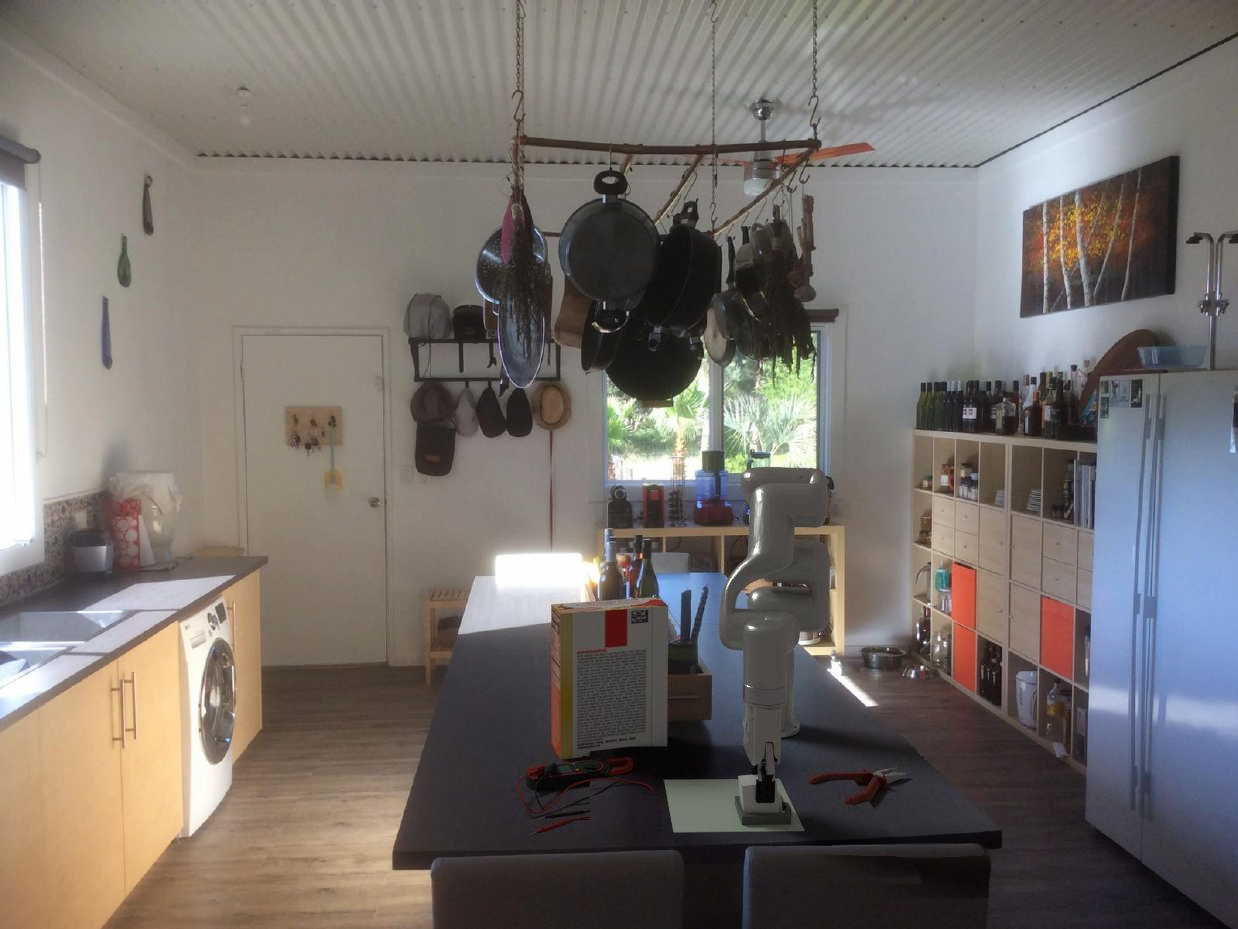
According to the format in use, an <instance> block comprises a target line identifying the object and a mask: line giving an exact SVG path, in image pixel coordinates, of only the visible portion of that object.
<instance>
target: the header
mask: <svg viewBox="0 0 1238 929" xmlns="http://www.w3.org/2000/svg"><path fill="white" fill-rule="evenodd" d="M781 801H782V811H784V813H744V811H743V808H742V805H741V803H740V796H735V807H736V809H737V812H738V815H739V818H740V821H741V824H742V825H791V807H790V805H789V803H788V802H785V801H784V799H783V797H782V796H781Z"/></svg>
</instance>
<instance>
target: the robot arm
mask: <svg viewBox="0 0 1238 929" xmlns="http://www.w3.org/2000/svg"><path fill="white" fill-rule="evenodd" d="M740 486H741V487H740V488H741V491H742V494H743V497H744V500H745V501H746V503H747V505H748V507H749V523H748V525H749V526H748V541H747V542H748V543H747V556H746V558H744V559H743V561H741V562H740V563H739V564H738V565H737V566H736V567H735V569H734V570H733V571H732V572H731V573H730V575H729V576H728V578H727V579H726V581H725V583H724V585H723V588H722V592H721V597H720V608H719V622H718V636H719V640H720V642H721V645H723V647H725V649H727V650H730V651H737V652H738V651H739V652H742V685H741V686H742V693H741V694H742V696H741V697H742V698H741V699H742V701H741V702H742V703H744V705H745V708H744V718H743V719H742V724H741V725H742V728H743V740H742V741H743V742H742V743H743V749H744V751H745V753H746V756H747V757H748V760H749V762H750V764H751V767H750V775H757V774H758V779H756V802H757V803H774V802H775V779H776V770H775V769H776V768H775V767H776V766H778V765H779V764H780V763H781V755H782V753H781V752H782V738H788V737H791V736H794V735H797V734H798V733H800V730H801V724H800V721H799V720H798V719H796V718H795V717H794V703H795V702H794V700H795V698H794V697H795V696H794V694H795V650H794V648H795V647H796V646H798V643H799V642H800V638H801V636H800V635H801V633H821V632H824V630H825V629H826V628H827V626H828V624H829V618H830V589H831V588H830V585H831V584H830V583H831V581H830V580H831V579H830V578H831V576H830V575H831V564H830V563H831V561H830V560H831V559H830V554H829V550H828V547H827V545H826V544H825V543H824V542H822V541H819V540H812V539H798V538H797V539H796V537H795V536H796V535H795V532H796V531H795V528H815V529H816V528H820V527H822V526H823V525H824V524H825V521H826V518H827V515H828V509H829V508H828V505H829V496H828V494H829V493H828V491H829V490H828V488H829V487H828V480H827V476H826V474H825V472H823V470H821V469H819V468H813V467H787V466H786V467H785V466H757V467H749V468H746V470H744V471H743V472H742V474H741V477H740ZM759 580H761V581H763V582H766V583H773V584H774V583H775V584H788V585H789V584H790V585H791V584H792V585H793V584H794V585H805V586H806V587H795V586H794V587H792V586H782V585H781V586H776V585H765V586H759V587H755V588H754V589H753V590H752V591H750V593H749V595H748V596H747V600H746V601H747V602H746V604H747V605H746V606H747V607H746V608H736V604H737V599H738V596H739V595H740V593H741V591H743V590H744V589H745V588H746V587H748V586H749V585H751V584H753V583H754V582H757V581H759ZM775 765H776V766H775Z"/></svg>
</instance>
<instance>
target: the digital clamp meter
mask: <svg viewBox="0 0 1238 929" xmlns="http://www.w3.org/2000/svg"><path fill="white" fill-rule="evenodd" d="M618 765H622V766H619V767H613V766H618ZM611 766H612V767H613V768H611ZM633 768H634V760H633V758H632V757H628V756H625V757H617V758H616V757H615V758H607V759H605V758H604V757H603V758H597V759H595V760H594V759H588V760H580V761H579V760H578V761H571V762H563V763H556V762H552V763H551V764H547V765H546V764H545V765H544V764H538V766H529V767H528V768H527V769H526V771H525V775H524V776H523V777H520V778H519V779H518V782H517V791H518V794H519V796H520V798H521V800H522V803H523V804H524V806H525V808H526V809H527V811H528V812H530V813H531V814H535V815H538V814H543V813H544V812H547V811H548V810H549V809H551V808H552V807H553V806H554V805H555V804H556V803H557V802H559V800H561V798H562V797H563V796H564V794H565V793H566V792H567V791H568V790H569V789H570V788H572V787H574V786H579V784H580V785H586V784H590V783H591V782H592V781H606V780H607V781H608V780H609V781H610V780H611V781H612V780H613V781H615V780H616V781H615V782H612V783H611V784H609V785H608V786H606V787H604V788H603V789H601V790H599V791H597V792H596V793H594V794H591V795H589V796H586V797H584V798H582V799H580V800H578V801H576V802H573V803H572V804H570V805H568V806H567V807H573V806H575V805H576V804H577V805H578V803H580V802H583V801H585V800H587V799H590V797H594V796H597V795H599V794H601V793H602V792H604V791H605V790H607V789H609V788H610V787H612V786H613V785H615V784H617V783H618V782H627V783H630V784H632V783H633V784H638V785H642V786H645V787H648V788H649V789H650V790H652V791H653V792H654V789H653V787H651V786H650V785H649V784H647V783H644V782H640V781H633V780H634V779H633V778H632V780H630V779H629V778H625V779H623V778H618V777H611V776H617V775H622V774H626V773H629V772H630V771H631V770H632V769H633ZM609 776H610V777H609ZM523 779H525V785H526V787H527V788H528V789H529V790H532V791H534V790H535V791H534V796H535V799H536V801H537V803H538V806H539V807H540V808H541V809H542V810H540V811H533V810H531V808H530V807H529V806H528V805H527V802H526V800H525V799H524V797H523V795H522V792H521V789H520V783H521V781H522V780H523ZM556 787H557V788H563V787H567V788H566V789H565V790H564V791H563V792H562V794H560V796H559V797H558V798H557V799H556V800H555V801H553V803H552V804H550V806H548V807H546V808H544V807H543V805H542V804H541V802H540V801H539V800H540V799H539V798H538V795H537V791H541V790H547V789H549V790H550V789H557V788H556ZM589 812H590V809H589V810H584V809H583V810H582V809H579V810H573V811H567V812H559V813H550V814H548V815H545V816H544V817H543V816H542V817H538V818H536V819H538V820H540V819H554V818H560V817H568V816H574V815H575V816H577V815H583V814H586V813H589ZM583 819H590V816H589V815H587V816H586V815H585V816H581V817H575V818H566V819H565V820H561V821H559V822H556V823H553V824H550V825H548V826H544V827H543V826H542V827H540V828H539V829H538V830H536V831H535V832H533V833H530V834H529V836H532V835H535V834H540V833H545V832H546V831H548V830H552V829H555V828H557V827H560V826H563V825H566V824H570V823H572V821H575V820H576V821H577V820H583Z"/></svg>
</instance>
